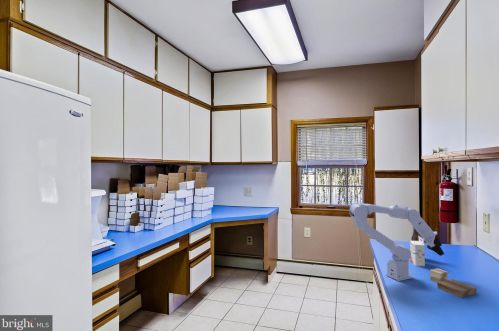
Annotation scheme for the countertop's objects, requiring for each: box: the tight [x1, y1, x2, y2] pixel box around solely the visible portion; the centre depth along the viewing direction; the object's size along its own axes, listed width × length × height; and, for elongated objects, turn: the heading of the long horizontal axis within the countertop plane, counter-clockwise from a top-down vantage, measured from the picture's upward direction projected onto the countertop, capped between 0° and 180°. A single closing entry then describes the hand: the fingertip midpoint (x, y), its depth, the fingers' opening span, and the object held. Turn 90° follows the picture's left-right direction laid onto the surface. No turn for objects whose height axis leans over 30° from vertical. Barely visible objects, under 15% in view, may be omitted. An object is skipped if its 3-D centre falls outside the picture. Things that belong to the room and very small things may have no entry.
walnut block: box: [436, 278, 477, 299], centre depth 127 cm, size 10×10×3 cm
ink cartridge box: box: [409, 236, 426, 267], centre depth 161 cm, size 9×5×15 cm, turn 168°
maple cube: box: [429, 268, 449, 284], centre depth 137 cm, size 5×5×5 cm
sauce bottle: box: [410, 226, 423, 241], centre depth 170 cm, size 6×6×20 cm
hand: (441, 250), depth 142 cm, fingers open, 7 cm apart
